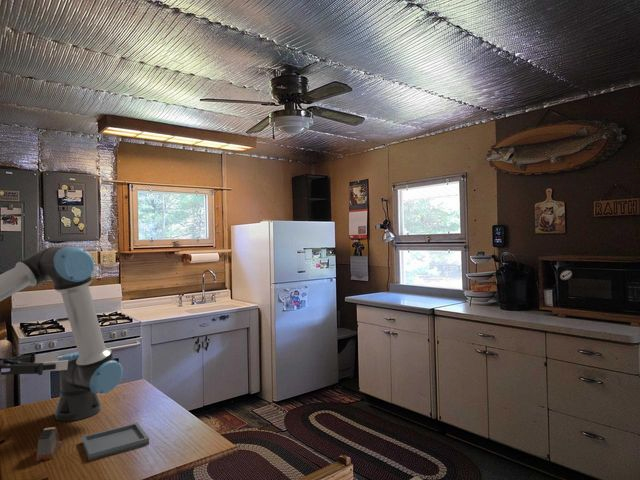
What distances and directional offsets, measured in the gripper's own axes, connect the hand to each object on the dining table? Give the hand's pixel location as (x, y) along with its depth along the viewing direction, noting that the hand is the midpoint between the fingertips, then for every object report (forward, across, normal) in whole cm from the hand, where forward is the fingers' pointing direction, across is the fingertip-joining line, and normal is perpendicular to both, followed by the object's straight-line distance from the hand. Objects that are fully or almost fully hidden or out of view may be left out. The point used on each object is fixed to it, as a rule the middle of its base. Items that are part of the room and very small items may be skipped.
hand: (62, 361), depth 137 cm
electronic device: (-1, +1, -28) cm, 28 cm away
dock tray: (+15, +8, -26) cm, 31 cm away
